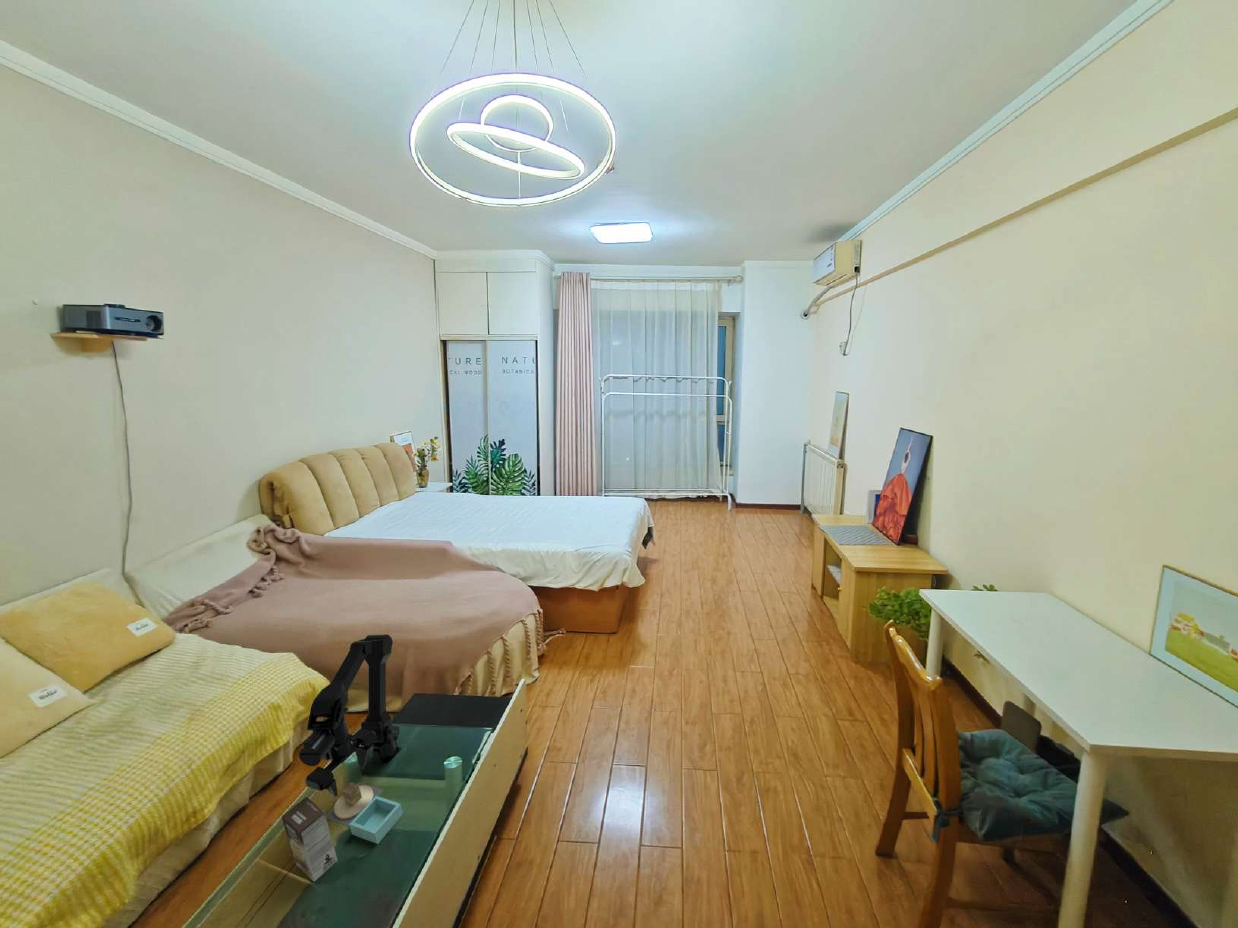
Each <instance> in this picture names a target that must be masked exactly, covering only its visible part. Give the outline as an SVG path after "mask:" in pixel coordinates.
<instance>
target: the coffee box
mask: <svg viewBox="0 0 1238 928" xmlns="http://www.w3.org/2000/svg"><path fill="white" fill-rule="evenodd" d="M325 815H326V813H325V811H324V810H323V809H322V808H320V807H319V806H318V805H317V804H316V803H315V802H313V801H312V800H311V799H310V798H309V797H307V796H305V797H304V798H303V799H302V800H300V801H299V802H298V803H297V804H295V805H294V806H292V807H291V808H290V809H289V810H288V811H286V812H285V813H284V814H283V815H282V816H281V820H282V824H283V827H284V830H285V834H286V836H287V839H288V842H289V846H290V849H291V852H292V855H293V858H294V862H295V864H296V866H297V867H298V868H299V869H300V870H301V871H302V872H303V873H304V874H305V875H306V876H307V877H308V878H309V879H310V880H311V881H312V882H316V881H317V880H318V879H319V878H320V877H322V875H323V874H325V873H326V872H327V871H328V870H329V869H330V868H332V867H333V866H334V864H335V863H337V862H338V857H337V853H336V849H335V846H334V842H333V839H332V835H331V831H330V828H329V824H328V819H327V818H326V816H325Z"/></svg>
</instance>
